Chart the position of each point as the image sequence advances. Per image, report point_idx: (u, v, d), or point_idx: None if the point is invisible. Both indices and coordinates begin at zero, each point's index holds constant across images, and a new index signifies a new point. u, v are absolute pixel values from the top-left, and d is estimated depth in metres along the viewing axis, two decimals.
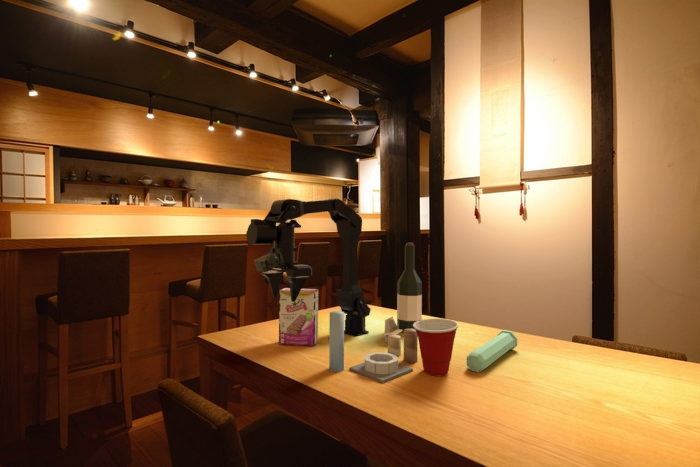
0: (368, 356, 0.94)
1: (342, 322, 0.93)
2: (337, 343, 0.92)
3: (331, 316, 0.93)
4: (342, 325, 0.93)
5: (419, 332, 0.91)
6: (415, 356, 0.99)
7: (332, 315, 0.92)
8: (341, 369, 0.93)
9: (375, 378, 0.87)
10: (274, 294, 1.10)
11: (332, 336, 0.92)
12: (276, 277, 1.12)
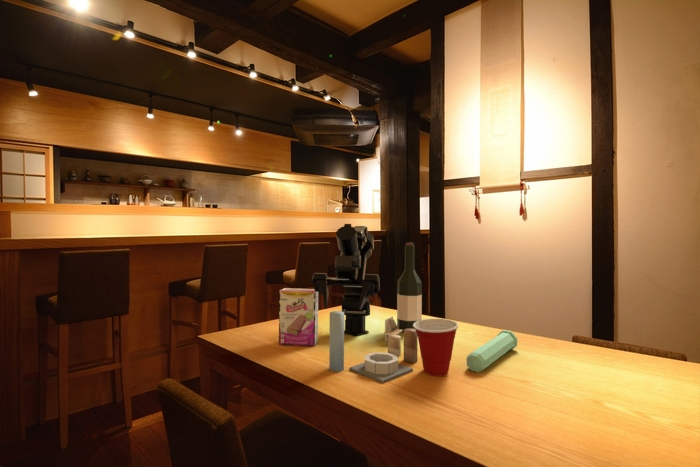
0: (368, 356, 0.94)
1: (342, 322, 0.93)
2: (337, 343, 0.92)
3: (331, 316, 0.93)
4: (342, 325, 0.93)
5: (419, 332, 0.91)
6: (415, 356, 0.99)
7: (332, 315, 0.92)
8: (341, 369, 0.93)
9: (375, 378, 0.87)
10: (326, 304, 1.03)
11: (333, 336, 0.92)
12: (327, 292, 1.07)
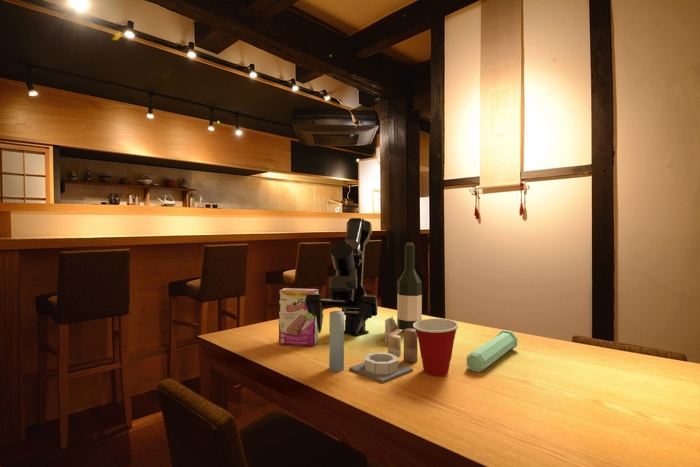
0: (368, 356, 0.94)
1: (342, 322, 0.93)
2: (337, 343, 0.92)
3: (331, 316, 0.93)
4: (342, 325, 0.93)
5: (419, 332, 0.91)
6: (415, 356, 0.99)
7: (332, 315, 0.92)
8: (341, 369, 0.93)
9: (375, 378, 0.87)
10: (320, 328, 0.96)
11: (332, 336, 0.92)
12: (321, 314, 1.00)
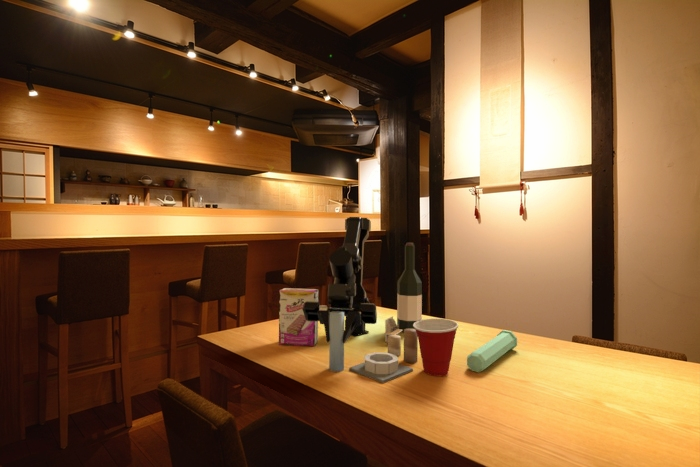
0: (368, 356, 0.94)
1: (342, 322, 0.93)
2: (337, 343, 0.92)
3: (331, 316, 0.93)
4: (342, 325, 0.93)
5: (419, 332, 0.91)
6: (415, 356, 0.99)
7: (332, 315, 0.92)
8: (341, 369, 0.93)
9: (375, 378, 0.87)
10: (328, 338, 0.93)
11: (333, 336, 0.92)
12: None
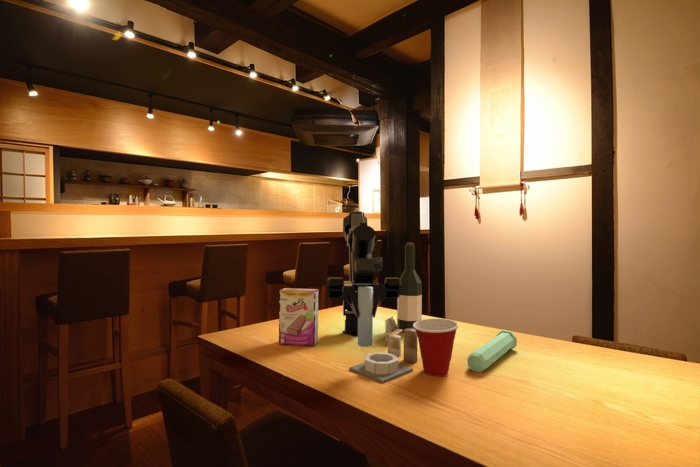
0: (368, 356, 0.94)
1: (372, 296, 0.92)
2: (367, 318, 0.91)
3: (361, 291, 0.92)
4: (372, 299, 0.92)
5: (419, 332, 0.91)
6: (415, 356, 0.99)
7: (362, 289, 0.91)
8: (371, 344, 0.92)
9: (375, 378, 0.87)
10: None
11: (363, 310, 0.91)
12: None
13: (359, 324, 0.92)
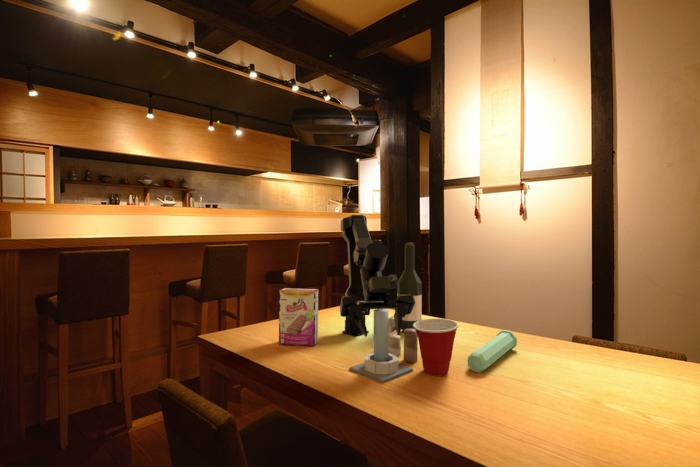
0: (368, 356, 0.94)
1: None
2: (384, 341, 0.92)
3: (378, 314, 0.92)
4: (387, 322, 0.93)
5: (419, 332, 0.91)
6: (415, 356, 0.99)
7: (379, 313, 0.92)
8: None
9: (375, 378, 0.87)
10: (366, 331, 0.92)
11: (380, 334, 0.92)
12: None
13: (376, 348, 0.92)
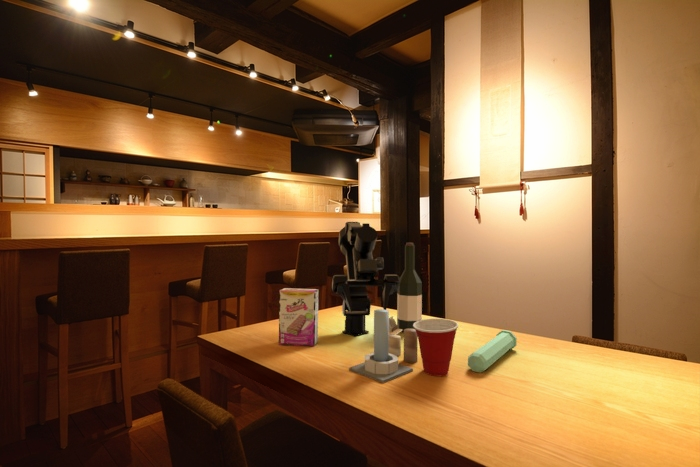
0: (368, 356, 0.94)
1: (388, 320, 0.93)
2: (385, 341, 0.92)
3: (378, 315, 0.92)
4: (388, 323, 0.93)
5: (419, 332, 0.91)
6: (415, 356, 0.99)
7: (379, 314, 0.92)
8: None
9: (375, 378, 0.87)
10: (352, 308, 1.02)
11: (380, 334, 0.92)
12: None
13: (376, 348, 0.92)
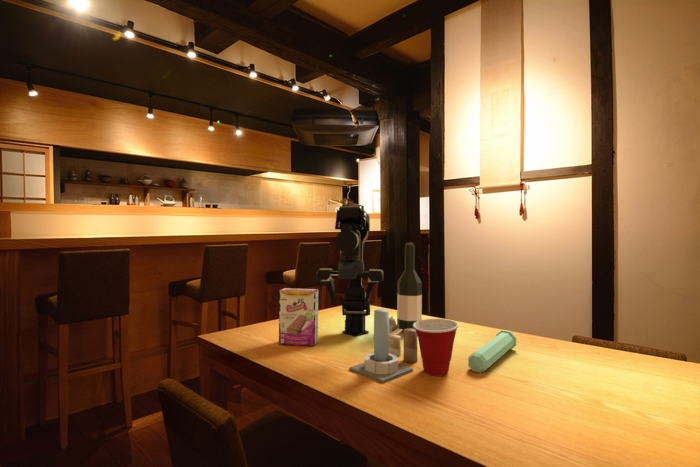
0: (368, 356, 0.94)
1: (388, 320, 0.93)
2: (385, 341, 0.92)
3: (378, 315, 0.92)
4: (388, 323, 0.93)
5: (419, 332, 0.91)
6: (415, 356, 0.99)
7: (379, 314, 0.92)
8: None
9: (375, 378, 0.87)
10: (334, 301, 1.09)
11: (380, 334, 0.92)
12: (333, 284, 1.10)
13: (376, 348, 0.92)
